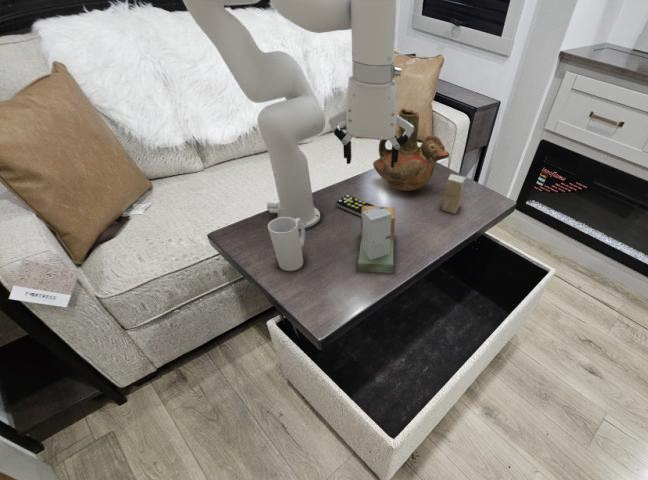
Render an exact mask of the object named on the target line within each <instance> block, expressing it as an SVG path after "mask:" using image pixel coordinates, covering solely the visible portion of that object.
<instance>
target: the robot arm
mask: <svg viewBox="0 0 648 480" xmlns="http://www.w3.org/2000/svg"><path fill="white" fill-rule="evenodd" d="M269 1H270V3H271V5H272V6H273V8H274V9H275V11H276V12H277V13H278V14H279V15H280V16H281V17H283V18H284V19H286V20H288V21H289V22H290V23H293V24H294V25H296V26H298V27H299V28H301V29H303V30H305V31H308V32H311V33H316V34H323V33H329V32H337V31H348V30H351V69H352V70H351V73H352V75H351V76H349V77H348V83H347V90H346V91H347V92H346V93H347V94H346V107H345V108H346V109H345V110H344V111H342V112H339V113H337V114H335V115H333V116H331V117H329V119H328V125H329V126H330V128H331V130H332V131H333V134H334V136H335V137H336V138H337V139H338V140H339V142H341V145H342V148H343V149H342V150H343V159H346V165H350V164H351V161H352V141H351V140H352V139H353V138H360V139H361V138H362V139H370V140H371V139H372V140H381V139H383V140H387V141H389V142H390V144H391V145H392V146H391V149H392V156H391V167H392V168H394V162H397V163H398V151H399V149H400V147H401V146H402V145H403V144H405V143H406V142H407V141H408V139H409V137H410V136H411V134H412V133H413V131H414V126H413V125H412V124H410V123H409V122H407V121H406V120H404V119H403V118H401V117H400V116H399V114H398V103H399V102H398V101H399V100H398V99H399V98H398V85H397V84H398V83H397V81H396V80H395V78H396V77H401V76H402V67H398V66H396V64H395V63H394V62H395V51H396V49H395V48H396V47H395V46H396V33H397V16H398V15H397V14H398V0H269ZM182 2H183V4H184V6H185V8H186V10H187V11H188V13H189V14H190V16H191V17H192V19H193V21H194V22H195V24H196V25H197V26H198V28H200V30H202V32H203V33H204V34H205V36H206V37H207V39H209V40H210V42H211V43H212V44H213V46H214V47H215V49H216V50H217V52H218V54H219V55H220V57H221V59H222V60H223V62H224V64H225V65H226V67H227V69H228V70H229V72H230V73H231V75H232V77H233V78H234V80H235V82H236V83H237V85H238V86H239V88H240V90H241V91H242V92H243V94H244V96H245V97H246V98H247V99H248V100H249V101H250V102H252V103H255V104H256V103H257V104H260V103H261V104H262V103H267V102H271V101H275V100H279V99H283V98H284V99H285V100H281V101H277V102H274V103H271V104H269V105H266V106H265V107H263V108H262V109H261V110H260V111H259V113H258V115H257V126H258V130H259V132H260V135H261V138H262V140H263V142H264V144H265V148H266V150H267V154H268V158H269V161H270V165H271V171H272V174H273V178H274V179H273V180H274V183H275V187H276V191H277V197H278V201H279V202H277V203H276V202H275V203H274V202H266V208H267V210H268V212H269V214H277V217H276V218H280V217H290V218H293V219H295V220H296V219H297V218H300V220H301V222H302V223H303V225H304V228H305V229H308V228H311V227H313V226H314V225H316V224H318V222H320V219H321V212H320V210H319V209H318V208H317V207H315V205H314V198H313V192H312V191H313V189H312V182H311V176H310V169H309V162H308V159H307V156H306V155H305V153H304V152H303V151H302V149H300V147H299V143H301V142H303V141H305V140H308V139H311V138H313V137H316V136H318V135H320V134H321V133H322V132H323V131H324V129H325V127H326V116H325V112H324V110H323V107H322V104H321V103H320V101H319V99H318V97H317V95H316V93H315V92H314V90H313V88H312V86H311V84H310V82H309V79H307V77H306V75H305V73H304V71H303V69H302V67H301V66H300V64H299V63H298V61H297V60H296V59H295V58H294V57H293V56H291V54H289V53H287V52H285V51H281V50H275V51H269V52H268V51H267V52H264V51H263V50H261V48H260V47H259V46H258V44H257V43H256V41H255V39H254V37H253V35H252V33H250V31H249V29H247V27H246V26H245V25H244V24H243V23H242V22H241V20H239V19H238V18H237V17H236V16H235V15H234V14H232V13H231V12H229V10H227V8H225V6H238V5H239V6H241V5H254V4H257V3H259V2H261V0H182ZM344 121H345V125H346V126H345V128H346V131H345V132H344V131H343V129H341V127H340V126H339V124H340V123H341V122H344ZM399 126H400V127H402V128H403V129H405V132H404V134H403V135H401V136H400V137H399V138H398V137H397V135H396V130H397V127H399ZM298 230H301V229H300V227H299V226H298Z"/></svg>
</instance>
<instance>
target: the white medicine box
mask: <svg viewBox="0 0 648 480" xmlns="http://www.w3.org/2000/svg"><path fill="white" fill-rule="evenodd" d="M378 207H379V208H373V209H370V210H367V211H363V212H362V216H363V252H364V254H365V255H366V256H367V257H368V258H369V259H370V260H373V259H376V258H379V257H382V256H385V255H388V254H389V252H390V233H391V213H390V212H389V211H388V210H387V209H385V208H384V207H385V206H383V205H382V206H378Z"/></svg>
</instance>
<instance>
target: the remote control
mask: <svg viewBox="0 0 648 480" xmlns="http://www.w3.org/2000/svg"><path fill="white" fill-rule="evenodd" d="M336 204H337V205H336V206H337V207H338V208H340V209H343V210H345V211H348V212H350V213H351V214H354V215H357V216H359V217H361V211H362V206H375V205H373V204H372V203H369V202H366V201H365V200H362V199H359V198H357V197H355V196H352V195H348V194H346V195H344V196H342V197H341V198H339V199H338V200H337V202H336Z"/></svg>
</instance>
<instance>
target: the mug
mask: <svg viewBox="0 0 648 480" xmlns="http://www.w3.org/2000/svg"><path fill="white" fill-rule="evenodd" d="M298 226H299V227H300V229H298ZM267 228H268V233H269V236H270V239H271V243H272V246H273V250H274V253H275V257H276V260H277V264H278V267H279V268H280V269H281V270H283V271H287V272H293V271H296V270H299V269H301V267H303V265H304V255H303V251H302V250H303V249H302V247H304V246H305V239H306V228H304V225H303V223H302V222H301V220H300V218H297V219H296V220H295V219H293V218H290V217H280V218H277V217H276V218H274V219H272V220H270V221H269V222H268V224H267Z"/></svg>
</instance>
